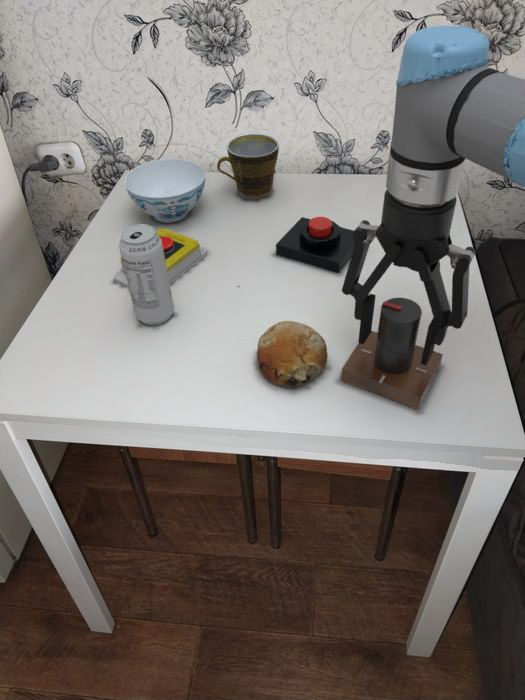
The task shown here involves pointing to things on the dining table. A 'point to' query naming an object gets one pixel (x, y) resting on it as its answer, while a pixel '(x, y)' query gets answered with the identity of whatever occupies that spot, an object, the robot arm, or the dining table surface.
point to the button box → (317, 246)
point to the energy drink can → (146, 274)
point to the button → (320, 227)
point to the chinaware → (166, 187)
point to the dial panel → (392, 386)
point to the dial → (397, 335)
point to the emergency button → (173, 255)
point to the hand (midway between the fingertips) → (395, 347)
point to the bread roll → (291, 354)
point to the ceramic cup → (252, 164)
